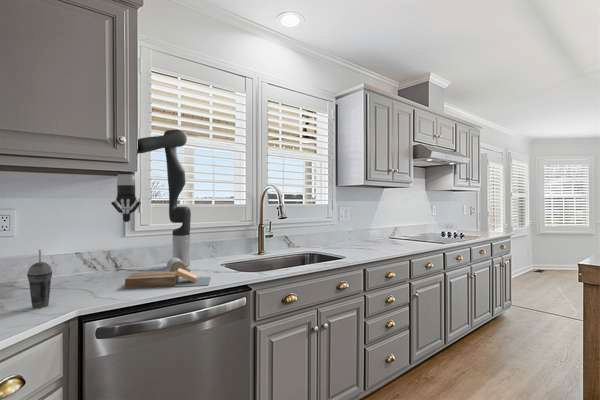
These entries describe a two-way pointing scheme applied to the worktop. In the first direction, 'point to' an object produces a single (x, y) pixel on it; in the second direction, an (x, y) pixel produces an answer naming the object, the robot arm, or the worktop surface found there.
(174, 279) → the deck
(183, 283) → the mat
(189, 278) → the orange tan rectangular block
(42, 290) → the beverage cup
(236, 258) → the worktop surface
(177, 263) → the ceramic mug
